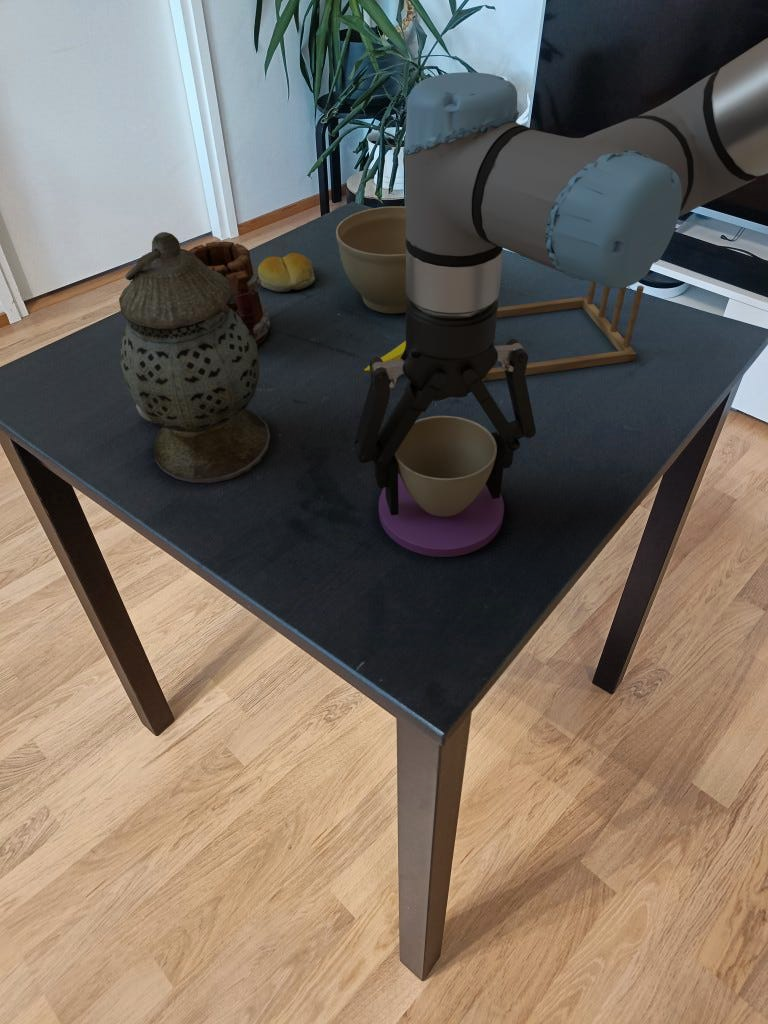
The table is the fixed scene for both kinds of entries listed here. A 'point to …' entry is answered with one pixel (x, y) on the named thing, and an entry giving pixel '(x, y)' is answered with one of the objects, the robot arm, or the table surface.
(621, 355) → the rack
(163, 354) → the lantern
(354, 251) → the planter bowl
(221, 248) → the mug
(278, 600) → the table surface
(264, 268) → the bread roll
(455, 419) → the flower pot
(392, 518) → the lid
